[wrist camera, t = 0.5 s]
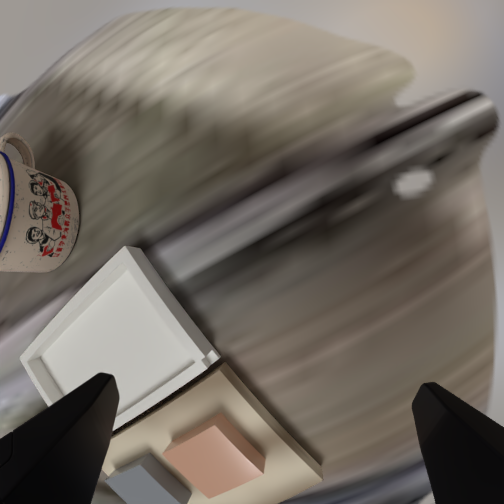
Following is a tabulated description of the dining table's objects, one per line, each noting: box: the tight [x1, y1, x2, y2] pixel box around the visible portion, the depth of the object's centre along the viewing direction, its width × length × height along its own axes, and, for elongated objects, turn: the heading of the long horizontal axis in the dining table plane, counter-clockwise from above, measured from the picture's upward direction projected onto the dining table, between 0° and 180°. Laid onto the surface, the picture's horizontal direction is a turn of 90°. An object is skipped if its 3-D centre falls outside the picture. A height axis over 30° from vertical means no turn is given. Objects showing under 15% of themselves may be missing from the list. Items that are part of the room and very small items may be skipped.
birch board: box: [102, 362, 323, 504], centre depth 20 cm, size 12×16×2 cm
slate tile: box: [105, 453, 192, 504], centre depth 18 cm, size 5×5×2 cm
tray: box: [20, 246, 221, 431], centre depth 21 cm, size 10×16×2 cm, turn 129°
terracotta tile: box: [162, 413, 266, 499], centre depth 18 cm, size 5×5×2 cm
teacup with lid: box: [0, 132, 79, 272], centre depth 18 cm, size 12×9×12 cm
